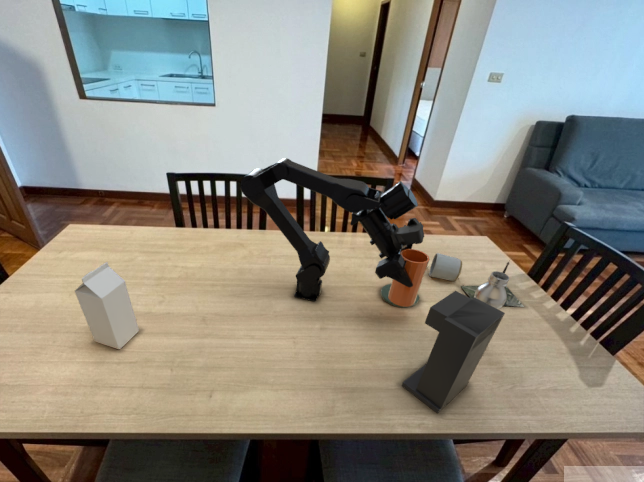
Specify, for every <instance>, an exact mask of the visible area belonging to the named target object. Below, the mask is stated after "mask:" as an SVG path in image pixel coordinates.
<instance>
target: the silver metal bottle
mask: <svg viewBox="0 0 644 482" xmlns="http://www.w3.org/2000/svg"><path fill="white" fill-rule="evenodd" d="M502 272H503V271H498V270H497V271H492V272H491V273H490V275H489V277H488V278H487V281H485V282H483V283H482V284H480V285H478V286H479V287H478V288H477V289H476V292H475V295H474V297H475V298H477V299H479V300H481V301H483V302H485V303H487V304H489V305H490V306H492V307H494V308H496V309H498V310H500V311H501V309H502V308H503V305H504V303H505V302H506V298H507V295H506V290H505V288H504V287H506V286H507V287H508V283H509V281H510V276H509V275H508V274H506V272H505V273H502Z"/></svg>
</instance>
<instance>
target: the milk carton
mask: <svg viewBox="0 0 644 482" xmlns="http://www.w3.org/2000/svg"><path fill="white" fill-rule="evenodd" d="M81 281H82V283H81V284H80V285H79V286H78V287H77V288H76V289H75V290H74V293H75V295H76V298H77V301H78V304H79V306H80V308H81V311H82V313H83V316H84V318H85V321H86V323H87V326H88V328H89V331H90V334H91V336H92V338H93V341H94V342H95V343H98V344H101V345H105V346H107V347H110V348H114V349H117V350H121V349H122V348H123V347H124V346H126V344H127V343H128V342H129V341H130V340H132V339H133V337H135V335H137V334H138V332H140V328H139V325H138V321H137V318H136V317H137V316H136V315H135V311H134V308H133V304H132V301H131V297H130V294H129V290H128V287H127V283H126V280H125V279H124V278H123V277H122V276H120V275H119V274H118V273H117V272H116V271H115V270H114V269H113V268H112V267H110V265H109V262H108V261H106V262H103V264H101V265H99V266H98V267H96V268H95V269H93V270H90V271H89V272H88V273H86V274H85V275H84V276H82V277H81Z"/></svg>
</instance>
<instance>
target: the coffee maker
mask: <svg viewBox="0 0 644 482" xmlns="http://www.w3.org/2000/svg"><path fill="white" fill-rule="evenodd" d="M505 314H506V312H504V311H502V310H501V309H500V310H498V309H496V308H494V307H492V306H490V305H489V304H487V303H485V302H483V301H481V300H479V299H477V298H475V297H474V298H473V299H471V298H470V297H469V296H467V295H465V294H463V293H461V292H459V291H458V290H454V291H452V292H450V294H449V295H446V296H445V297H444V298H441V300H439V301H438V302H436V303H435V304H433V305H432V306H430V308H429V310H428V313H427V316H426V319H425V321H424V324H425V325H427V326H429V327H430V328H431V329H433V330H435V331H436V332H438V334H437V336H436V339H435V341H434V344H433V347H432V349H431V351H430V354H429V356H428V359H427V361H426V363H425V364H424V365H423V366H421V367H420V368H419V369H418V370H416V371H415V372H414V373H412V374H411V375H410V376H409V377H407V378H406V379H405V380H404V381H402V384H401V387H403V388H404V389H405V390H406V391H407V392H408V393H410V394H411V395H413V396H414V397H416V398H417V399H418V400H419V401H421V402H422V403H423V404H425V405H426V406H427V407H429V408H430V409H431V410H432V411H434V412H435V413H436V414H439V413H440V412H441V411H442V410H443V409H444V408H446V406H448V404H449V403H451V402H452V400H454V399H455V398H456V397H457V396H458V395H459V394H460V393H461V392H462V391H463V390H464V389H465V388H466V387H467V386H468V384H469V382H470V380H471V378H472V377H473V374H474V372H475V371H476V369H477V367H478V365H479V363H480V361H481V360H482V357H483V355H484V354H485V352H486V350H487V348H488V346H489V344H490V343H491V340H492V339H493V337H494V335H495V333H496V331H497V329H498V327H499V325H500V324H501V322H502V320H503V318H504V317H505Z"/></svg>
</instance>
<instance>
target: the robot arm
mask: <svg viewBox="0 0 644 482" xmlns="http://www.w3.org/2000/svg"><path fill="white" fill-rule="evenodd" d="M282 180H284V181H287V182H289V183H291V184H293V185H297V186H300V187H302V188H304V189H307V190H309V191H312V192H315V193H317V194H320V195H322V196H325V197H327V198H329V199H330V200H332V201H333V203H335V204H336V205H337V206H338V207H340V208H342V209H343V210H345V211H346V212H347V213H351V219H350V223H349V225H350V226H354V225H355V224H357V223H360V225H361V226H362V228H363V229H364V231H365V232H366V233H367V235H368V237H369V238H370V240H369V243H370V245H371V246H374V245H375V247H376V248H377V250H378V251H379V254H378V257H379V258H380V259H381V260H379V261H378V263H377V265H376V267H375V271H374V273H375V275H376V276H377V278H378V279H379V280H381V279H383V278H386V277H387V278H389V279H391V280H393V279H394V280H396V281H398V282H400V283H401V284H403V285H405V286H407V287H409V288H410V287H412V286H413V283H412V281H411V279H410V277H409V275H408V273H407V271H406V269H405V266H406V262H407V260H405V261H404V259H403V257H402V256H401V255H400V252H401V251H402V250H404V249H413V245H414V244H415V245H420V244H422V243H423V242H424V238H425V232H424V225H423V223H422V222H420V221H419V220H418V218H417V217H411V218H409V219H408V222H407V224H404V225H403V226H401V227H399V226H398V225H397V224H396V223H395V222H393V223H391V222H390V220H391V221H392V220H397V219H399V218H401V217H402V216H404V215H405V214H407V213H409V212H410V211H413V210H414V209H415V208H417V207H418V206H419V205H418V200H417V198H416V197H415V194H414V193H413V192H412V191H413V190H411V188H409V187H408V186H407V185H406V184H404V183H403V181H402V180H399V181H397V182H396V183H395V184H394V185H393V186H392V187H390V188H389V189H388V190H385V191H384V192H383V191H382V190H379V189H376V188H372V187H370V186H369V185H368V184H367V183H366V182H364V181H362V180H356V179H351V178H339V177H334V176H330V175H328V174H326V173H324V172H321V171H318V170H316V169H313V168H311V167H308V166H305V165H304V164H301V163H297V162H295V161H293V160H292V159H290V158H288V157H287V158H286V157H284V158H281V159H280V160H279V161H277V162H275V163H272V164H270V165H268V166H267V167H264V168H259V167H258V168H254V169H252V170H251V171H250V172H248V173H247V174H246V175H245V176H243V178H242V179H241V181H240V188H239V189H240V192H241V193H242V195H243V196H244V197H246V198H247V200H248V201H250V203H252V204H253V205H255V206H257V207H259V208H261V209H262V210H263V211H265V213H266V214H267V215H268V217H269V218H270V219H271V221H272V222H273V223H274V224H275V226H276V227H277V229H279V231H280V232H281V234H282V235H283V236H284V237H285V238H286V240H287V241H288V243H289V244H290V245H291V246H292V247H293V249H294V251H296V254H297V256H298V260H299V263H300V267H299V268H298V270H297V272H296V274H295V280H296V288H295V289H296V290H295V292H294V295H293V297H294V298H298V299H302V300H305V301H306V300H307V301H312V302H317V300H318V297H320V296H321V294H322V288H323V287H322V286H323V279H321V278H322V277H323V276H324V275H325V274H326V271H327V269H328V267H329V264H330V261H331V256H330V250H328V249H327V248H326V247H325V245H324V244H323V242H322V241H318V242H317V243H316V242H315V241H312V240H311V239H310V237H309V236H308V235H307V233H306V232H305V231H304V230H303V228H302V227H301V226H300V224H299V223H298V221H297V220H296V219H295V217H294V216H293V215H292V214H291V212H290V211H289V209H288V208H287V206H285V204H284V203H283V201H282V200H281V199H280V198H279V196H278V191H277V188H276V184H277V183H278V182H281V181H282ZM389 219H390V220H389Z"/></svg>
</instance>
